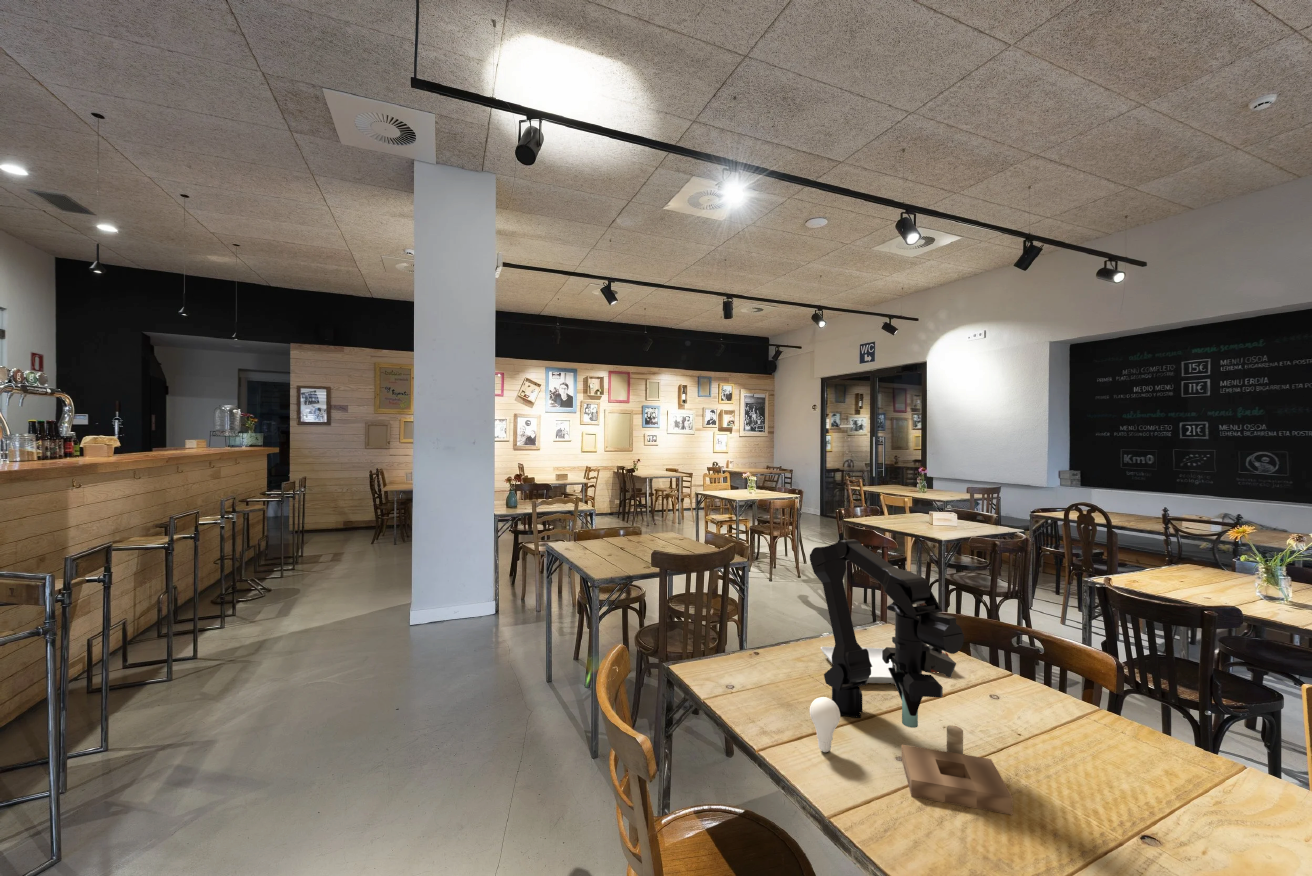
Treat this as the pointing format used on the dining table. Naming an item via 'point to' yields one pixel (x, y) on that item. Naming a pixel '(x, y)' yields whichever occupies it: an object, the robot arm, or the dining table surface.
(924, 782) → the walnut hole block
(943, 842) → the dining table surface
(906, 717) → the long teal pin
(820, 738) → the lightbulb
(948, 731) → the short beech pin
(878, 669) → the salad plate
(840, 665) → the robot arm
